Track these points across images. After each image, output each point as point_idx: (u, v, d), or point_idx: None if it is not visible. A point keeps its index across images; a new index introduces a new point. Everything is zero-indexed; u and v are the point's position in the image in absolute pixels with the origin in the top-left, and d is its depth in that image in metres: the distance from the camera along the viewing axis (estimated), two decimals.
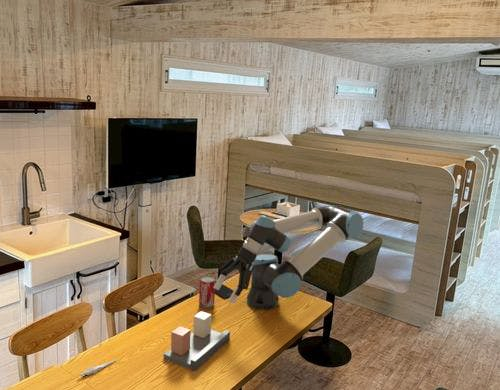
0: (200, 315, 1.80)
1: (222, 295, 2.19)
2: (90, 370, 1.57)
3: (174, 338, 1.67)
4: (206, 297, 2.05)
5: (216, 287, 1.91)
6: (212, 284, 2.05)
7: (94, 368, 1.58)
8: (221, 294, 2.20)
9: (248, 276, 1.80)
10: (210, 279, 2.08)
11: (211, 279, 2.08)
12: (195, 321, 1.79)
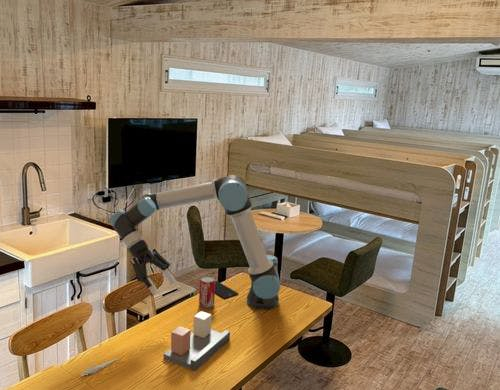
0: (200, 315, 1.80)
1: (222, 295, 2.19)
2: (90, 370, 1.57)
3: (174, 338, 1.67)
4: (206, 297, 2.05)
5: (171, 282, 1.91)
6: (212, 284, 2.05)
7: (94, 368, 1.58)
8: (221, 294, 2.20)
9: (136, 268, 1.82)
10: (210, 279, 2.08)
11: (211, 279, 2.08)
12: (195, 321, 1.79)
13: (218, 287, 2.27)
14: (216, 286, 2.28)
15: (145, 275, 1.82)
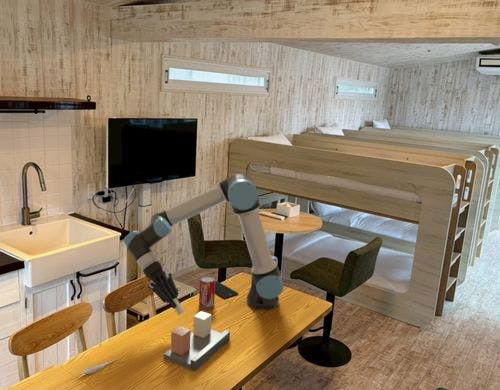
0: (200, 315, 1.80)
1: (222, 295, 2.19)
2: (89, 370, 1.57)
3: (174, 338, 1.67)
4: (206, 297, 2.05)
5: None
6: (212, 284, 2.05)
7: (93, 368, 1.58)
8: (221, 294, 2.20)
9: (157, 292, 1.82)
10: (210, 279, 2.08)
11: (211, 279, 2.08)
12: (195, 321, 1.79)
13: (218, 287, 2.27)
14: (216, 286, 2.28)
15: (170, 296, 1.83)
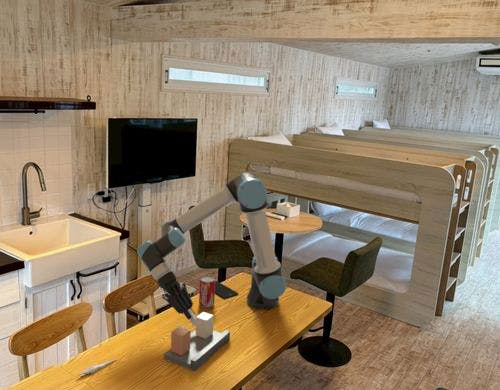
0: (202, 315, 1.79)
1: (222, 295, 2.19)
2: (89, 369, 1.57)
3: (174, 338, 1.67)
4: (206, 297, 2.05)
5: None
6: (212, 284, 2.05)
7: (93, 367, 1.58)
8: (221, 294, 2.20)
9: (172, 303, 1.80)
10: (210, 279, 2.08)
11: (211, 279, 2.08)
12: (197, 322, 1.78)
13: (218, 287, 2.27)
14: (216, 286, 2.28)
15: (184, 307, 1.81)
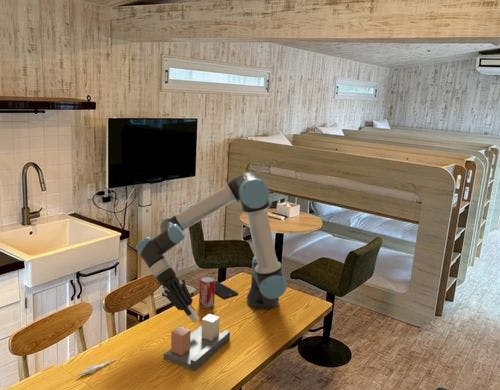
0: (208, 317, 1.78)
1: (222, 295, 2.19)
2: (89, 369, 1.57)
3: (174, 338, 1.67)
4: (206, 297, 2.05)
5: None
6: (212, 284, 2.05)
7: (93, 367, 1.58)
8: (221, 294, 2.20)
9: (171, 299, 1.79)
10: (210, 279, 2.08)
11: (211, 279, 2.08)
12: (203, 324, 1.77)
13: (218, 287, 2.27)
14: (216, 286, 2.28)
15: (184, 303, 1.81)
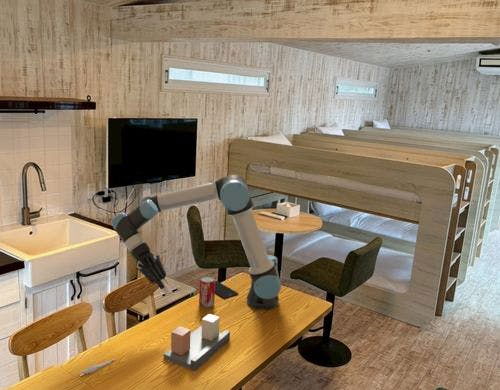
0: (208, 317, 1.78)
1: (222, 295, 2.19)
2: (89, 369, 1.57)
3: (174, 338, 1.67)
4: (206, 297, 2.05)
5: None
6: (212, 284, 2.05)
7: (93, 367, 1.58)
8: (221, 294, 2.20)
9: (145, 273, 1.83)
10: (210, 279, 2.08)
11: (211, 279, 2.08)
12: (203, 324, 1.77)
13: (218, 287, 2.27)
14: (216, 286, 2.28)
15: (157, 277, 1.85)
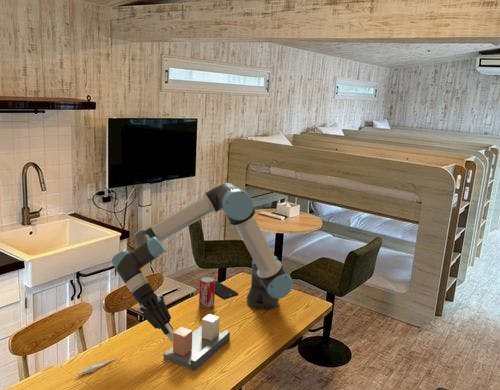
0: (208, 317, 1.78)
1: (222, 295, 2.19)
2: (88, 369, 1.57)
3: (176, 339, 1.66)
4: (206, 297, 2.05)
5: (172, 338, 1.70)
6: (212, 284, 2.05)
7: (92, 367, 1.58)
8: (221, 294, 2.20)
9: (148, 317, 1.68)
10: (210, 279, 2.08)
11: (211, 279, 2.08)
12: (203, 324, 1.77)
13: (218, 287, 2.27)
14: (216, 286, 2.28)
15: (161, 322, 1.69)
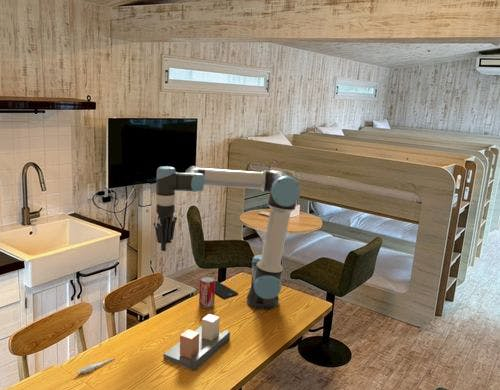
0: (208, 317, 1.78)
1: (222, 295, 2.19)
2: (87, 368, 1.57)
3: (182, 342, 1.65)
4: (206, 297, 2.05)
5: None
6: (212, 284, 2.05)
7: (91, 366, 1.58)
8: (221, 294, 2.20)
9: (158, 233, 1.87)
10: (210, 279, 2.08)
11: (211, 279, 2.08)
12: (203, 324, 1.77)
13: (218, 287, 2.27)
14: (216, 286, 2.28)
15: (165, 240, 1.91)
